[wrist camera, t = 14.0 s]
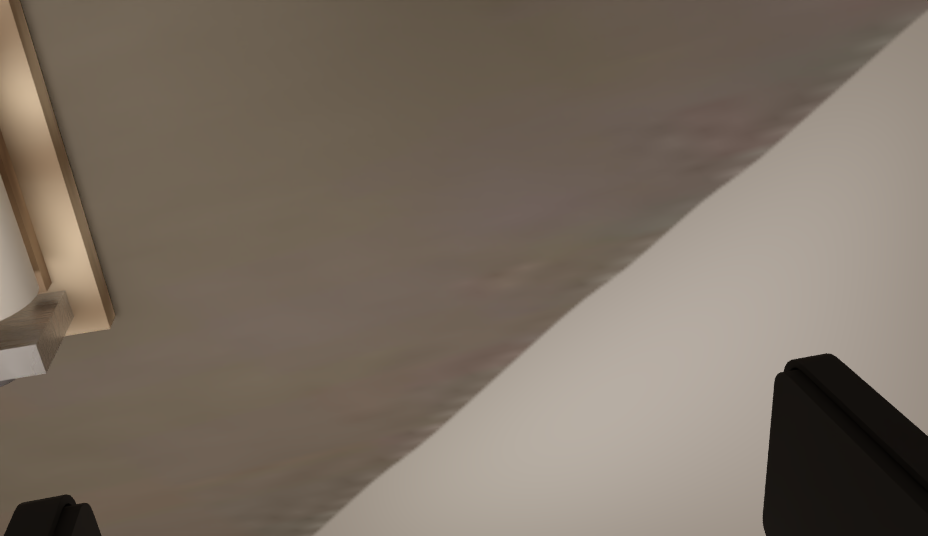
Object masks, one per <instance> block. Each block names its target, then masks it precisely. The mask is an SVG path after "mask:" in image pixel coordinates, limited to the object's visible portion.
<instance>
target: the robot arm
mask: <svg viewBox="0 0 928 536" xmlns="http://www.w3.org/2000/svg"><path fill="white" fill-rule="evenodd" d="M763 526H764V530H765V533H766V536H928V436H927V435H926V434H925V433H923V432H922V431H921V430H920V429H919V428H918V427H917V426H915V425H914V424H913V423H912V422H911V421H910V420H909V419H907V418H906V417H905V416H904V415H903V414H902V413H900V412H899V411H898V410H897V409H896V408H895V407H894V406H892V405H891V404H890V403H889V402H888V401H887V400H885V399H884V398H883V397H882V396H881V395H880V394H879V393H877V392H876V391H875V390H874V389H873V388H872V387H871V386H869V385H868V384H867V383H866V382H865V381H864V380H862V379H861V378H860V377H859V376H858V375H857V374H855V373H854V372H853V371H852V370H851V369H850V368H849V367H847V366H846V365H845V364H844V363H843V362H842V361H840V360H839V359H838V358H837V357H836V356H834V355H832V354H827V353H826V354H821V355H816V356H810V357H805V358H799V359H794V360H791V361H789V362H788V363H787V364H786V366H785V369H784V372H780V373H779V374H777V376H776V378H775V382H774V393H773V405H772V416H771V428H770V440H769V451H768V462H767V474H766V485H765V497H764V508H763ZM4 536H101V533H100V530H99V528H98V525H97V522H96V519H95V516H94V514H93V511H92V509H91V507H90V505H89V504H88V503H81V504H76V502H75V500H74V499H73V498H72V497H71V496H70V495H61V496H56V497H50V498H45V499H40V500H34V501H29V502H23V503H21V504H19V505H18V506H17V508H16V510H15V511H14V514H13V516H12V518H11V520H10V523H9V525H8V527H7V530H6V532H5V534H4Z"/></svg>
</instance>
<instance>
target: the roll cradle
mask: <svg viewBox="0 0 928 536" xmlns="http://www.w3.org/2000/svg"><path fill="white" fill-rule="evenodd" d="M0 175H1V178H2V180H3V183H4V186H5V189H6V192H7V195H8V198H9V201H10V204H11V207H12V210H13V213H14V215H15V218H16V221H17V224H18V227H19V230H20V233H21V236H22V239H23V242H24V245H25V248H26V250H27V253H28V256H29V259H30V262H31V265H32V268H33V271H34V274H35V277H36V280H37V283H38V286H39V292H38V294H37V296H36V297H35V298H34V299H33V300H32V301H31V303H29V304H28V305H27V306H26V307H24V308H23V309H21V310H20V311H18V312H17V313H15V314H13V315H11V316H9V317H7V318H6V319H4V320H1V321H0V387H1V386H3V385H6V384H8V383H10V382H12V381H13V380H15V379H16V378H21V377H27V376H33V375H39V374H45V373H47V371H48V369H49V366H50V364H51V362H52V360H53V358H54V356H55V354H56V352H57V350H58V348H59V346H60V344H61V342H62V340H63V338H64V336H68V335H74V334H80V333H86V332H93V331H99V330H105V329H110V328H111V325H112V322H113V320H114V317H115V312H114V309H113V306H112V302H111V299H110V296H109V293H108V289H107V286H106V283H105V279H104V276H103V273H102V269H101V266H100V263H99V260H98V256H97V253H96V250H95V246H94V243H93V240H92V237H91V233H90V230H89V227H88V223H87V220H86V217H85V214H84V210H83V207H82V204H81V200H80V197H79V194H78V190H77V187H76V184H75V181H74V177H73V174H72V171H71V167H70V164H69V161H68V158H67V154H66V151H65V148H64V144H63V141H62V138H61V135H60V131H59V128H58V125H57V121H56V118H55V115H54V111H53V108H52V105H51V102H50V98H49V95H48V92H47V88H46V85H45V82H44V79H43V75H42V72H41V69H40V65H39V62H38V59H37V55H36V52H35V49H34V46H33V42H32V39H31V36H30V32H29V29H28V26H27V23H26V19H25V16H24V13H23V9H22V6H21V3H20V0H0Z"/></svg>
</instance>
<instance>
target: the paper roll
mask: <svg viewBox="0 0 928 536" xmlns="http://www.w3.org/2000/svg"><path fill="white" fill-rule="evenodd" d="M38 292H39V286H38V283H37V280H36V277H35V274H34V271H33V268H32V265H31V262H30V259H29V256H28V253H27V250H26V248H25V245H24V242H23V239H22V236H21V233H20V230H19V227H18V224H17V221H16V218H15V215H14V213H13V210H12V207H11V204H10V201H9V198H8V195H7V192H6V189H5V186H4V183H3V180H2V178H1V175H0V321H1V320H4V319H6V318H7V317H9V316H11V315H13V314H15V313H17V312H18V311H20V310H21V309H23V308H24V307H26V306H27V305H28V304H29V303H31V301H32V300H33V299H34V298H35V297H36V296H37V294H38Z"/></svg>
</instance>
